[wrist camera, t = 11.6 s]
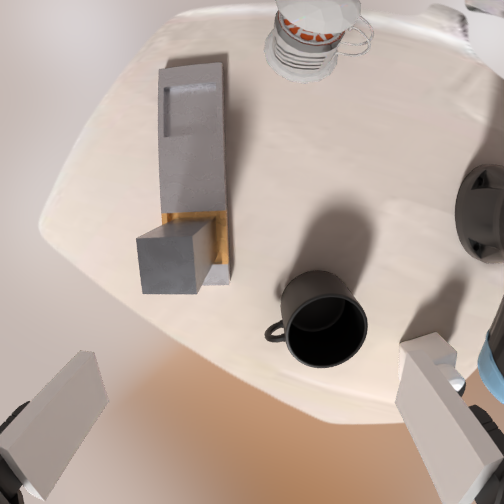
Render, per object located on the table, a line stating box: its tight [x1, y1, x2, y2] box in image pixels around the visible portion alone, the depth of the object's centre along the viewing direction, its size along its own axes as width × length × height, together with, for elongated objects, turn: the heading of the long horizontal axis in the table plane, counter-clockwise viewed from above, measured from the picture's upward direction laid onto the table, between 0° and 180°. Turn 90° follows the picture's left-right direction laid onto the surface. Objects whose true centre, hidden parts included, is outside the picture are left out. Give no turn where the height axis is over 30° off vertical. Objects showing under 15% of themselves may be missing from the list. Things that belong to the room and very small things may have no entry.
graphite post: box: [136, 216, 218, 294], centre depth 33 cm, size 5×5×14 cm
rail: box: [158, 62, 231, 285], centre depth 38 cm, size 8×28×2 cm, turn 2°
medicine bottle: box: [398, 332, 466, 397], centre depth 38 cm, size 7×7×12 cm
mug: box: [265, 271, 368, 368], centre depth 38 cm, size 9×12×9 cm
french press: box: [264, 0, 374, 84], centre depth 22 cm, size 10×12×25 cm
